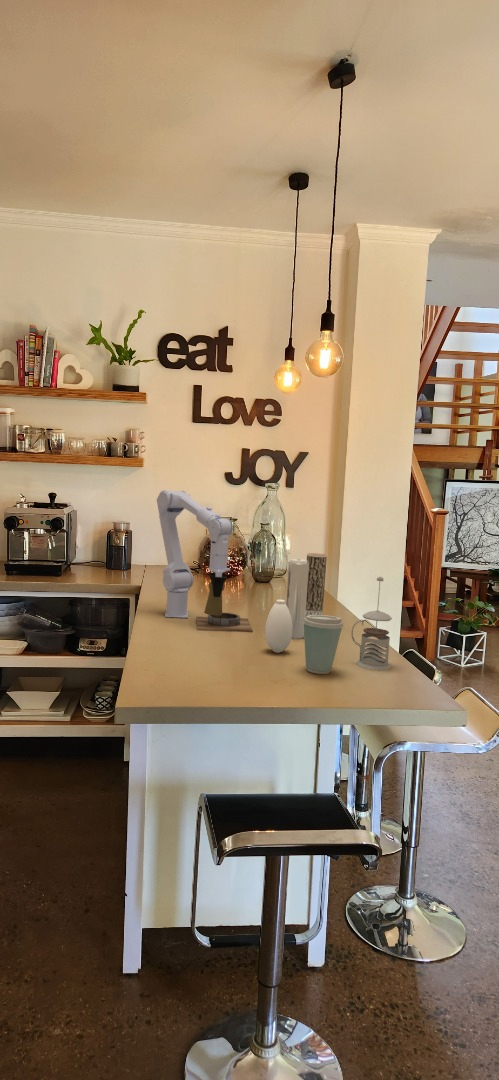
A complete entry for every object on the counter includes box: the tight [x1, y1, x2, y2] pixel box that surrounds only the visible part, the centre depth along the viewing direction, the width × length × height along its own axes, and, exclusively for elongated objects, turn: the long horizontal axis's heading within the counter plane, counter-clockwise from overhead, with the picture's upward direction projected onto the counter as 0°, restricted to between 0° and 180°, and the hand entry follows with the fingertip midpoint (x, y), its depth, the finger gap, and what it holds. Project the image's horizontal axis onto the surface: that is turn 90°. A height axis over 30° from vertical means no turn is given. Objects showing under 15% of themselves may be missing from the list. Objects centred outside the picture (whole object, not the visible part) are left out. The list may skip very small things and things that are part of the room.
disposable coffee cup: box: [303, 614, 344, 675], centre depth 182 cm, size 11×11×15 cm
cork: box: [203, 581, 225, 616], centre depth 227 cm, size 6×6×11 cm
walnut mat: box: [196, 615, 253, 633], centre depth 231 cm, size 18×18×1 cm
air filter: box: [285, 558, 309, 640], centre depth 219 cm, size 6×6×25 cm
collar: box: [207, 612, 241, 627], centre depth 231 cm, size 11×11×2 cm
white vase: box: [264, 591, 292, 654], centre depth 199 cm, size 8×8×18 cm
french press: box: [351, 576, 393, 671], centre depth 191 cm, size 10×12×25 cm
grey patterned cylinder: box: [305, 552, 328, 617], centre depth 237 cm, size 7×7×25 cm
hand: (216, 595), depth 227 cm, fingers closed on cork, 5 cm apart
